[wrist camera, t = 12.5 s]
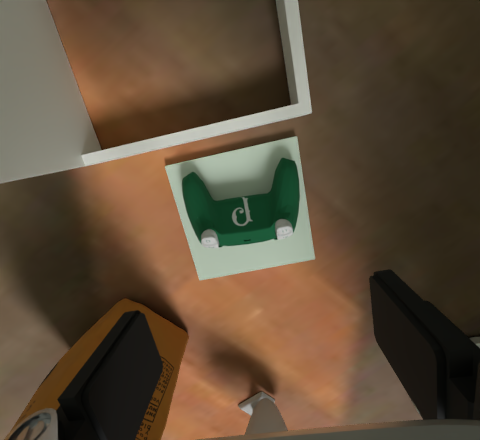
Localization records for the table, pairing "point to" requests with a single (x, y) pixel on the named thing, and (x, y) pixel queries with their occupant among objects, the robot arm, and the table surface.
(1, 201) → the table surface
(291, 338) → the table surface
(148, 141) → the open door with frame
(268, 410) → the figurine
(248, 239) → the gaming controller
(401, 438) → the robot arm
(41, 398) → the coffee package
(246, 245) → the mat
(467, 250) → the table surface
